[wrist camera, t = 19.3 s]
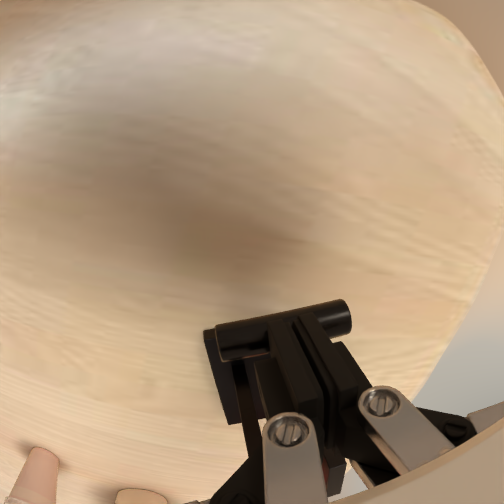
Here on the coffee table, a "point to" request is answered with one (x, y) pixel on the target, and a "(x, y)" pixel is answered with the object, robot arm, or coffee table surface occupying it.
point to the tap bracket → (256, 406)
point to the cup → (139, 497)
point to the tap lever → (255, 329)
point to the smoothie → (36, 479)
